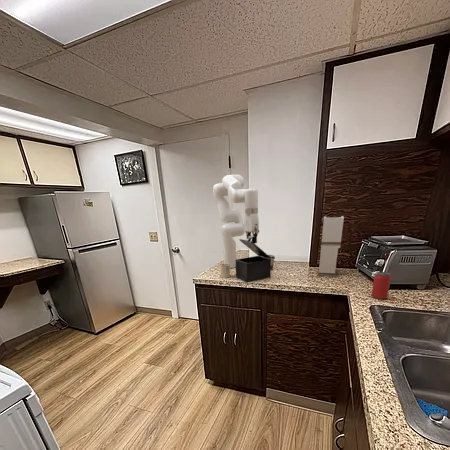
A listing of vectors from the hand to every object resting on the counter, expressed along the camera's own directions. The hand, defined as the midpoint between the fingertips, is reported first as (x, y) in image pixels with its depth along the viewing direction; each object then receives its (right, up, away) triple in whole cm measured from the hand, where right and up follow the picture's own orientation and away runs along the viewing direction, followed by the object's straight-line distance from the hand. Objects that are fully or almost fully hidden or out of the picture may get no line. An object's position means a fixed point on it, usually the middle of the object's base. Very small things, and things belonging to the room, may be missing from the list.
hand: (251, 242), depth 153 cm
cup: (-16, -20, +14) cm, 29 cm away
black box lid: (+2, -4, +3) cm, 5 cm away
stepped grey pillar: (+50, -19, +7) cm, 54 cm away
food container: (+13, -14, +26) cm, 32 cm away
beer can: (+58, -35, -33) cm, 75 cm away
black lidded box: (+2, -21, +9) cm, 23 cm away
